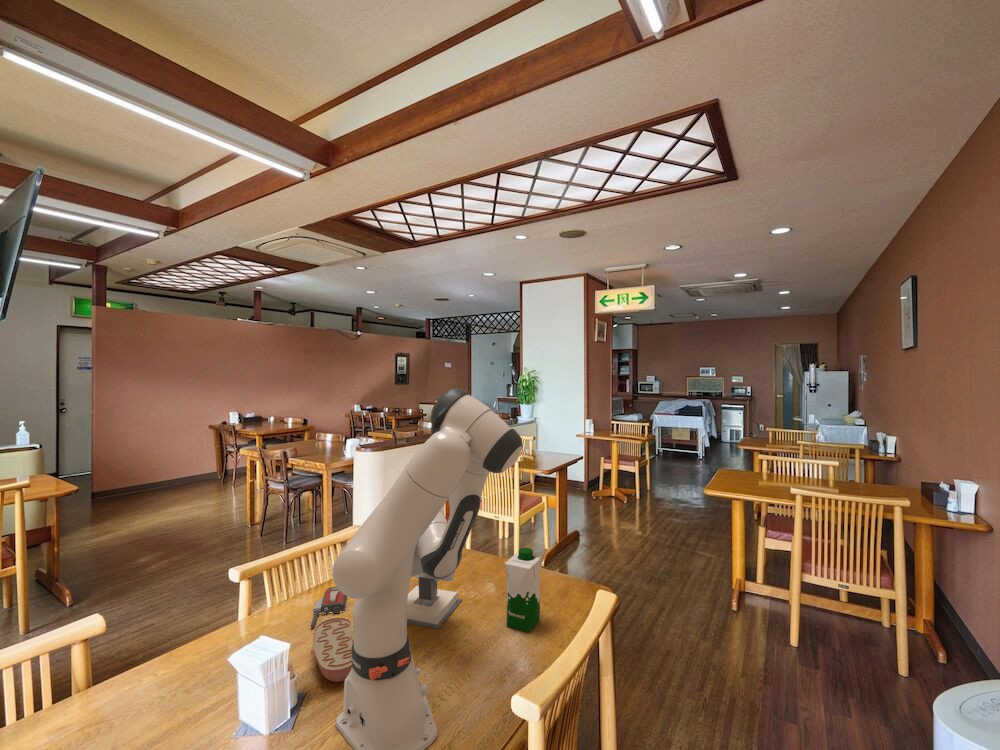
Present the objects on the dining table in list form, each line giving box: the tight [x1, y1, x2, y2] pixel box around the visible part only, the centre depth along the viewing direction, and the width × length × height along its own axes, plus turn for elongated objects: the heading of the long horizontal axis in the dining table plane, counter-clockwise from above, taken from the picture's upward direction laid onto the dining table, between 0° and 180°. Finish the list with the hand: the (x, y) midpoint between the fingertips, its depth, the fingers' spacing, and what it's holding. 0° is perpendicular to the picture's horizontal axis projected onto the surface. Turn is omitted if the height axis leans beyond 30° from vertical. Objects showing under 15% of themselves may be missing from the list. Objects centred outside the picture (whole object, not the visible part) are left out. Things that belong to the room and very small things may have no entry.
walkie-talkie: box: [310, 586, 348, 628], centre depth 138 cm, size 9×4×20 cm
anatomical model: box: [312, 617, 354, 683], centre depth 114 cm, size 23×10×5 cm, turn 27°
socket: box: [407, 585, 463, 630], centre depth 137 cm, size 16×16×3 cm
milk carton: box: [504, 547, 541, 634], centre depth 129 cm, size 9×9×20 cm
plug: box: [418, 577, 438, 601], centre depth 137 cm, size 4×4×10 cm
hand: (428, 577), depth 138 cm, fingers closed on plug, 4 cm apart
